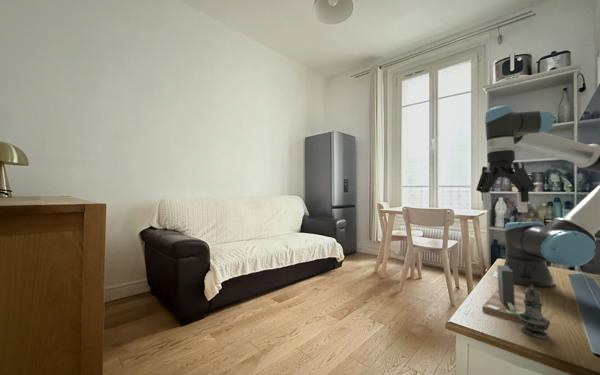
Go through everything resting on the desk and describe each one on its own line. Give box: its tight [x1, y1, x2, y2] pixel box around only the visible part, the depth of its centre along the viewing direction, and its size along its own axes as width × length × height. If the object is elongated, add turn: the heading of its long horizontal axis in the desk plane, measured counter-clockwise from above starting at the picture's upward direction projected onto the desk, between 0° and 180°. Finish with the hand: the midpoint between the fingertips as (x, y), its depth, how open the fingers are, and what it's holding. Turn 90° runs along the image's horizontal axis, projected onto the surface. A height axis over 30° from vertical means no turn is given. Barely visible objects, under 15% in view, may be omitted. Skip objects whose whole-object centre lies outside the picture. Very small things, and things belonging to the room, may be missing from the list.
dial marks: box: [486, 305, 523, 315], centre depth 71 cm, size 3×9×1 cm, turn 46°
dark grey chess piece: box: [518, 285, 551, 340], centre depth 62 cm, size 6×6×12 cm
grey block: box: [496, 264, 515, 310], centre depth 74 cm, size 10×3×10 cm, turn 151°
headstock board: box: [481, 288, 525, 323], centre depth 76 cm, size 20×10×2 cm, turn 130°
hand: (503, 211), depth 87 cm, fingers open, 13 cm apart
